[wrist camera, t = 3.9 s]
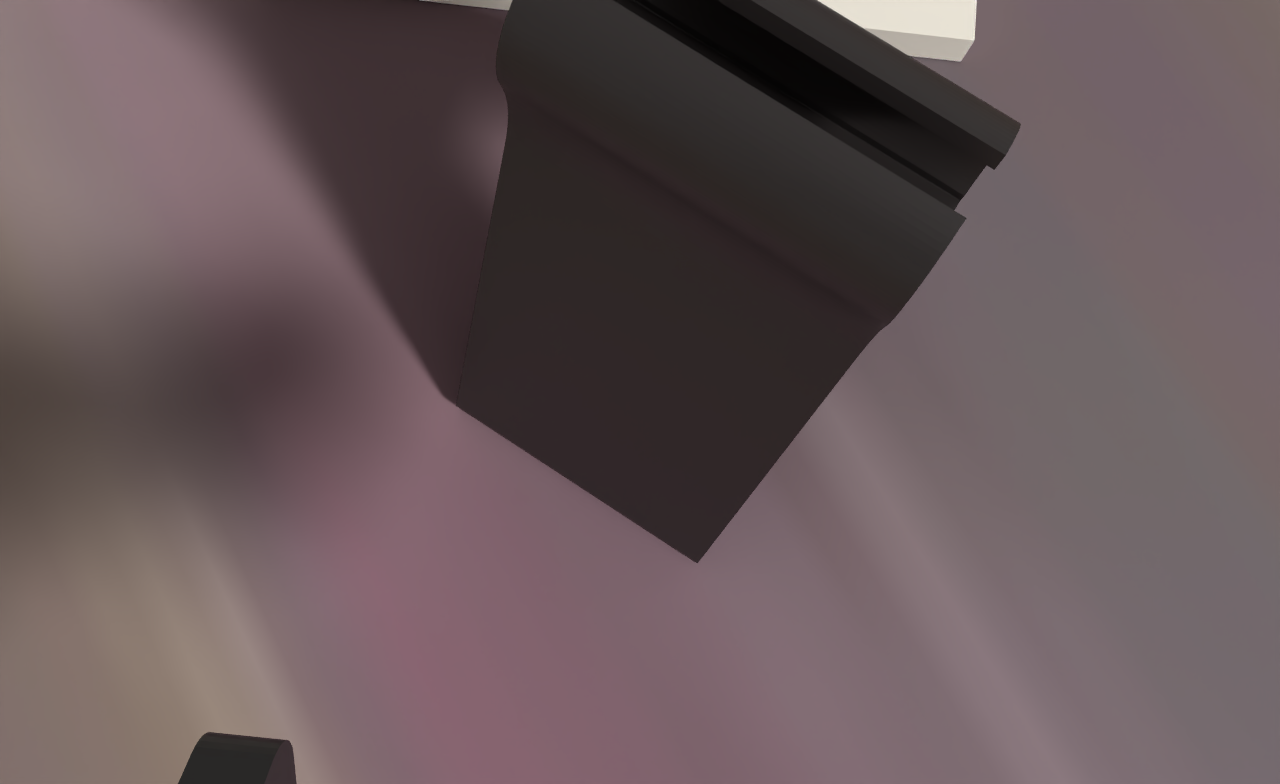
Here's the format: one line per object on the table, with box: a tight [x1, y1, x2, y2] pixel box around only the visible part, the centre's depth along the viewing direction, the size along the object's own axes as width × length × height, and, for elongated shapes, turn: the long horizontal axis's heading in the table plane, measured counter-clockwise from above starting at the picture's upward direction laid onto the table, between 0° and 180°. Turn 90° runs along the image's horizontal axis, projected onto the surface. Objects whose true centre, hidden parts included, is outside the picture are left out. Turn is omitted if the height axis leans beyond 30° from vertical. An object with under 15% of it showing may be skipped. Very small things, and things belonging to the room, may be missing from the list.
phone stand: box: [456, 0, 1021, 563], centre depth 20 cm, size 9×6×12 cm, turn 147°
